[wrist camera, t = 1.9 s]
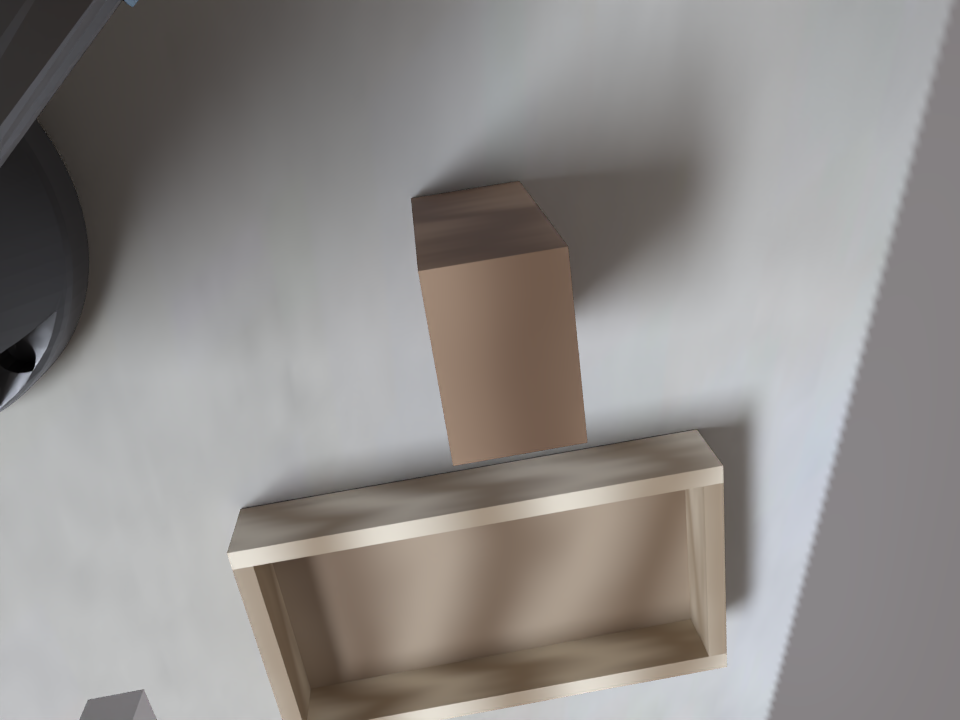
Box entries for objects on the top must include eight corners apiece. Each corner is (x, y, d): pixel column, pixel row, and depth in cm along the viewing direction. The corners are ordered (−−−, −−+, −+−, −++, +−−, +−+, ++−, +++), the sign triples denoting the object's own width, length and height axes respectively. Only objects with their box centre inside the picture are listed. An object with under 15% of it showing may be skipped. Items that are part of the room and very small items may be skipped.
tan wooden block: (437, 348, 32) (452, 466, 23) (411, 198, 29) (418, 271, 21) (536, 331, 32) (587, 442, 24) (519, 181, 29) (568, 246, 21)
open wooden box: (299, 694, 38) (291, 747, 35) (240, 509, 34) (226, 553, 31) (703, 620, 39) (726, 666, 36) (696, 429, 34) (723, 465, 31)
